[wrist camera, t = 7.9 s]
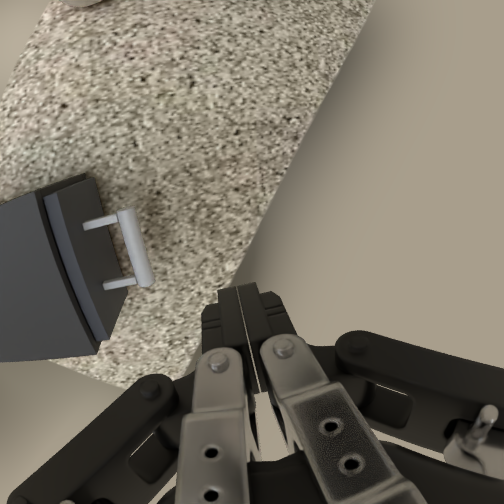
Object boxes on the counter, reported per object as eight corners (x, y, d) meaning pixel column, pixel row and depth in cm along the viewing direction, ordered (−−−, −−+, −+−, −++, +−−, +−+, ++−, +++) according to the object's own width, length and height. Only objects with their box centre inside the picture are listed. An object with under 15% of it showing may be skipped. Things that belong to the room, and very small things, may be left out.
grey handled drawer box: (85, 172, 24) (34, 191, 15) (121, 295, 29) (96, 354, 20) (-13, 210, 23) (-69, 239, 14) (24, 312, 28) (-13, 363, 19)
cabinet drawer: (139, 164, 24) (114, 174, 17) (169, 283, 28) (161, 331, 21) (-4, 212, 22) (-49, 236, 15) (33, 310, 27) (2, 351, 20)
